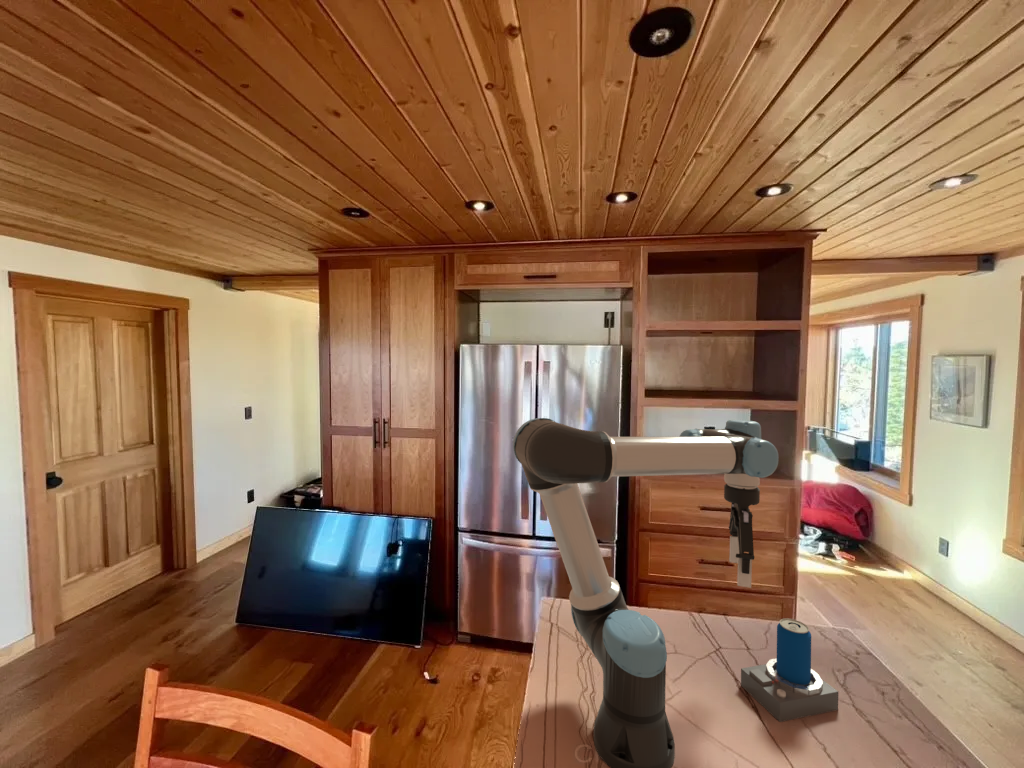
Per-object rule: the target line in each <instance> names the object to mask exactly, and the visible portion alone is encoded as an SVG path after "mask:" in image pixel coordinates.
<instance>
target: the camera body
mask: <svg viewBox="0 0 1024 768" xmlns="http://www.w3.org/2000/svg"><path fill="white" fill-rule="evenodd" d="M766 664H767V663H765V664H759V665H754V666H747V667H743V668H740V686H741V687H742V688H743V689H744V690H745V691H746V692H747V693H748V694H750V695H751V696H752V697H753V698H754V699H755V700H756V701H757V702H758V703H759V704H760V705H761V706H762V707H763V708H764V709H766V710H767V711H768V712H769V713H770V714H771V715H772V716H773V717H774V718H775V719H776V720H777V721H778V722H780V723H781V722H787V721H791V720H795V719H801V718H805V717H810V716H815V715H819V714H825V713H830V712H833V711H838V710H839V691H838V690H837V689H835V688H834V687H833V686H832V685H830V684H829V683H828V682H826V681H825V680H823V679H822V678H821V680H822V681H823V688H822V690H821V692H820V694H817V695H812V696H809V695H808V696H806V695H801V694H796V693H792V692H790V691H788V690H786V689H784V688H782V687H780V686H778V685H777V684H776V683H775V682H774V681H772V680H771V679H770V678H769V677H768V674H767V672H766ZM774 672H775V673H776V674H777V675H778V676H779V674H778V673H777V670H776V668H774ZM779 677H781V676H779ZM781 678H782V677H781ZM809 685H814V681H813V679H812V678H811V682H810V683H809V684H807V685H804V686H809Z"/></svg>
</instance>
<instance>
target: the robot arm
mask: <svg viewBox="0 0 1024 768" xmlns="http://www.w3.org/2000/svg"><path fill="white" fill-rule="evenodd" d="M512 448H513V453H514V456H515V458H516V460H517V462H519V464H521V466H522V469H523V472H524V476H525V478H526V480H527V483H528V486H529V488H530V490H531V491H533V492H536V493H537V494H539V497H540V499H541V502H542V504H543V505H542V506H543V508H544V511H545V513H546V516H547V519H548V522H549V525H550V527H551V530H552V531H551V532H552V533H553V536H554V540H555V542H556V544H557V548H558V550H559V553H560V556H561V560H562V562H563V565H564V568H565V570H566V573H567V576H568V579H569V580H568V581H569V582H570V586H571V590H570V592H569V596H568V599H569V602H570V611H571V613H570V614H571V618H572V620H573V624H574V626H575V628H576V630H577V632H578V633H579V634H580V636H581V637H582V638H583V640H584V642H585V643H586V645H587V646H588V648H589V650H591V652H592V654H593V655H594V657H595V659H596V660H597V662H598V664H599V665H600V667H601V669H602V677H603V678H602V690H603V691H602V701H601V703H600V706H599V709H598V712H597V715H596V717H595V720H594V722H593V723H594V724H593V743H594V747H595V750H596V752H597V753H598V755H599V757H600V758H601V759H602V761H603V762H604V763H605V764H606V765H608V766H609V767H610V768H672V766H673V765H674V762H675V758H676V757H675V754H676V753H675V751H676V750H675V749H676V746H675V745H676V744H675V738H674V734H673V732H672V728H671V725H670V722H669V719H668V715H667V713H666V680H667V679H666V678H667V677H666V673H667V671H666V670H667V660H668V655H667V654H668V653H667V647H666V646H667V645H666V637H665V635H664V632H663V630H662V629H661V627H660V625H659V624H658V623H657V622H656V621H655V620H653V619H652V618H651V617H649V616H648V615H646V614H643V615H642V614H641V612H640V611H636V610H632V609H629V608H628V606H627V604H626V601H625V597H624V595H623V592H622V589H621V587H620V584H619V582H618V580H616V578H614V577H612V576H609V572H608V569H607V567H606V562H605V560H604V557H603V554H602V552H601V549H600V546H599V543H598V540H597V536H596V533H595V531H594V528H593V526H592V525H593V524H592V523H591V520H590V517H589V514H588V511H587V508H586V505H585V501H584V499H583V496H582V494H581V490H580V487H579V484H589V483H590V484H593V483H607V482H608V481H610V480H611V479H612V477H637V476H638V477H640V476H641V477H642V476H643V477H645V476H646V477H647V476H649V477H650V476H652V477H653V476H684V475H687V476H689V475H723V474H724V475H723V481H724V483H725V484H724V485H723V497H724V498H723V499H724V500H725V501H727V502H729V503H731V508H730V516H729V522H728V523H729V526H728V529H729V534H730V536H729V559H728V561H729V563H733V564H737V577H736V578H737V579H736V581H737V583H736V585H737V586H738V587H743V588H750V589H752V576H753V575H752V574H753V573H752V571H753V570H752V569H753V561H754V560H755V553H754V552H755V551H754V534H753V517H754V516H753V513H752V511H751V510H750V508H749V507H750V506H757V505H759V503H760V499H761V497H760V496H761V495H760V494H761V493H760V491H761V489H760V488H759V486H760V485H761V483H760V481H761V479H762V478H763V479H764V478H767V477H769V476H771V475H773V473H774V472H776V470H777V468H778V465H779V459H780V458H779V452H778V449H777V447H776V446H775V445H774V444H773V443H772V442H771V441H768V440H765V439H762V426H761V424H760V423H759V422H757V421H753V420H746V419H745V420H744V419H731V420H729V419H728V420H727V421H726V422H725V427H724V428H721V429H719V428H717V429H715V428H713V429H712V428H711V429H710V428H709V429H707V428H706V429H705V428H694V429H685V430H683V431H682V432H681V433H680V434H679V436H610V435H609V434H608V432H605V431H603V430H601V431H600V430H599V431H597V430H596V431H595V430H592V431H591V430H584V429H579V428H575V427H573V426H568V425H566V424H563V423H560V422H557V421H555V420H554V419H550V418H547V417H542V418H541V417H537V418H533V419H529V420H528V421H526V422H524V423H523V424H521V425H520V426H519V428H518V429H517V430H516V433H515V435H514V438H513V441H512ZM760 478H761V479H760Z"/></svg>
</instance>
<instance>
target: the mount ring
mask: <svg viewBox="0 0 1024 768" xmlns="http://www.w3.org/2000/svg"><path fill="white" fill-rule="evenodd" d="M765 664H766V672H767V674H768V677H769V678H770V679H771V680H772V681H774V682H775V683H776V684H777V685H778V686H780V687H782V688H784V689H786V690H788V691H790V692H792V693H796V694H801V695H806V696H808V695H809V696H812V695H817V694H820V692H821V690H822V688H823V681H822V680H823V679H822V678H821V676H820V674H818V672H816V671H815V670H814V669H812V668H811V678H812V679H813V681H814V685H809V686H801V685H796V684H792V683H790V682H788V681H786V680H783V679H782V678H781V677H779V676H778V675H777V674H776V673H775V672H774V668H776V665H777V657H776V658H770V659H769V660H768V661H767V663H765ZM821 679H822V680H821Z"/></svg>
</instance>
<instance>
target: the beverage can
mask: <svg viewBox="0 0 1024 768" xmlns="http://www.w3.org/2000/svg"><path fill="white" fill-rule="evenodd" d="M778 622H779V623H778V624H777V625H776V658H777V665H776V670H777V673H778V674H779V676H781V677H782V679H783V680H786V681H788V682H790V683H792V684H796V685H801V686H804V685H807V684H809V683H810V682H811V669H812V634H811V632H810V629H809V626H808V625H806V624H805V623H804V622H801V621H800V620H797V619H793V618H788V617H787V618H781V619H779V621H778Z"/></svg>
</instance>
